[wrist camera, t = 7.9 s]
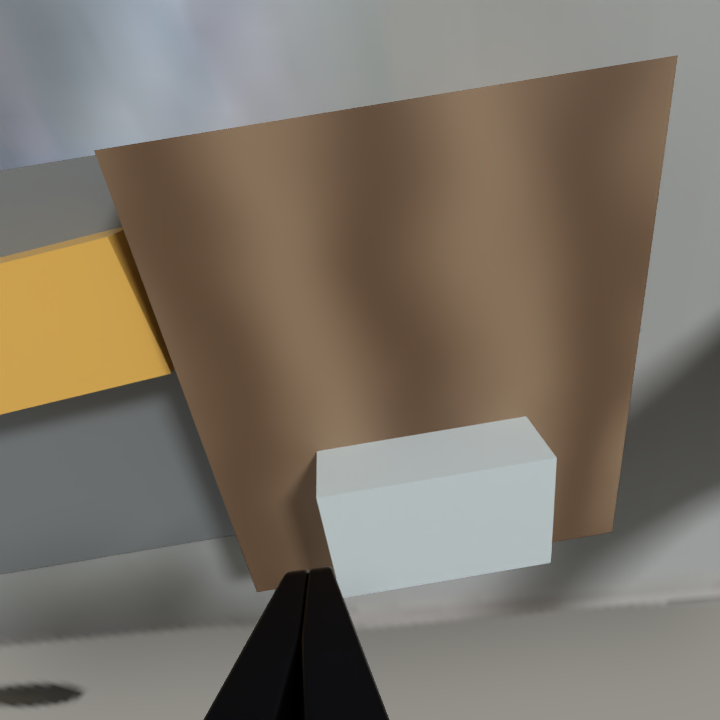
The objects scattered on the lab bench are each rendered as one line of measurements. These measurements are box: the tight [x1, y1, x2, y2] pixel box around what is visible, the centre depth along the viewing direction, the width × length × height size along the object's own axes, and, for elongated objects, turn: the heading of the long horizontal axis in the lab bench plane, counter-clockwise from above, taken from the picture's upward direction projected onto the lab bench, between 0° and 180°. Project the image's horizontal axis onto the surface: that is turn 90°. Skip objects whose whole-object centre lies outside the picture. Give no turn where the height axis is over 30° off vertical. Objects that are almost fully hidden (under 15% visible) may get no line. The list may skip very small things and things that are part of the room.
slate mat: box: [0, 155, 236, 574], centre depth 20 cm, size 14×18×1 cm
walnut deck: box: [95, 56, 677, 592], centre depth 18 cm, size 16×18×4 cm
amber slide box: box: [0, 227, 175, 415], centre depth 17 cm, size 8×5×2 cm, turn 103°
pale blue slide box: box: [316, 416, 557, 598], centre depth 17 cm, size 8×5×2 cm, turn 98°
